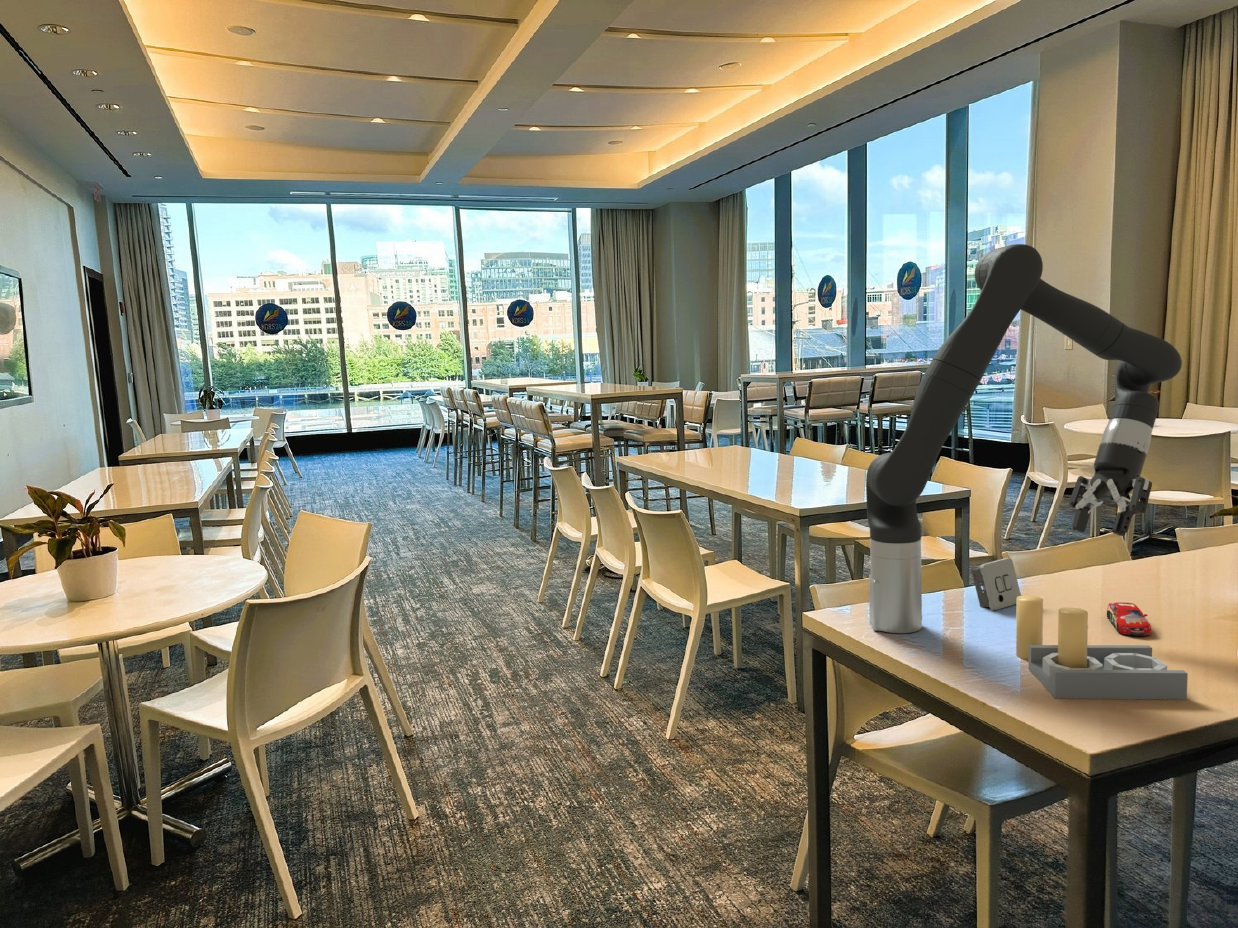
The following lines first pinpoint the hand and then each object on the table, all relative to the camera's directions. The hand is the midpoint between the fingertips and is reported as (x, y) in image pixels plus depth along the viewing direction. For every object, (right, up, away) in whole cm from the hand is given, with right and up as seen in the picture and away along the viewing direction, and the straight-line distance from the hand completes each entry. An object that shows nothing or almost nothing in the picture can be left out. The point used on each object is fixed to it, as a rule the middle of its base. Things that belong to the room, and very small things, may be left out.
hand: (1097, 532), depth 149 cm
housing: (-11, -22, -20) cm, 31 cm away
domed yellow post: (-16, -20, -7) cm, 27 cm away
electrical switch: (-8, -17, +22) cm, 29 cm away
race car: (+8, -18, +5) cm, 21 cm away
